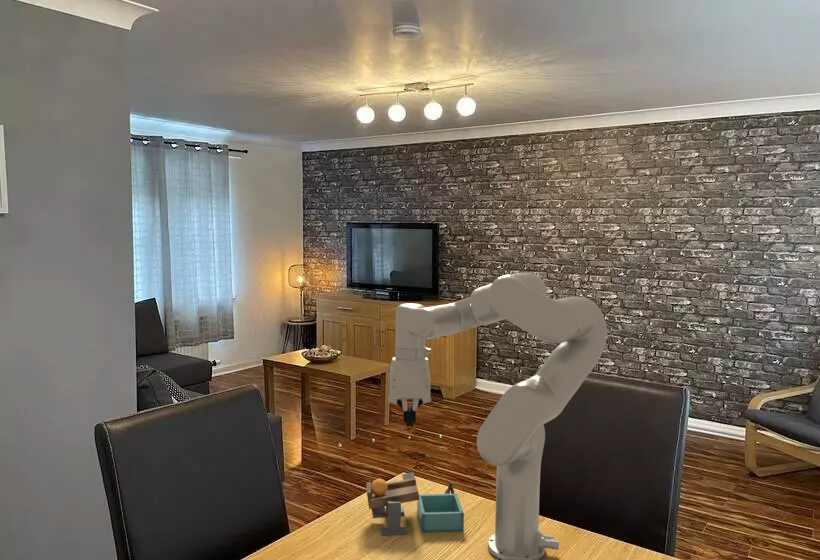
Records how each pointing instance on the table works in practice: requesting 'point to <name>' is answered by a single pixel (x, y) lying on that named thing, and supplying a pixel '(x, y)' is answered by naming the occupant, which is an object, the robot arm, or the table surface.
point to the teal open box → (440, 513)
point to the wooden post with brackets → (450, 488)
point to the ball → (379, 487)
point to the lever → (393, 494)
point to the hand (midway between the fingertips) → (409, 424)
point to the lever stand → (394, 520)
